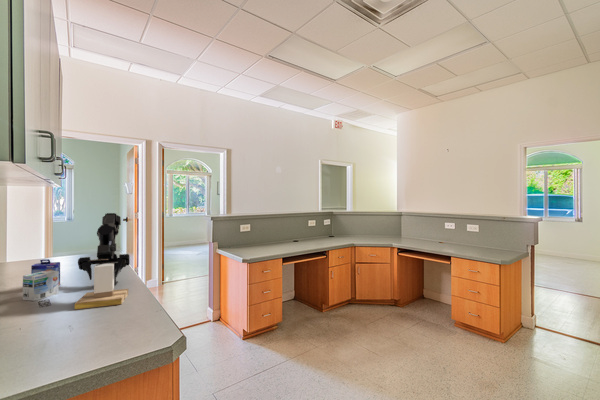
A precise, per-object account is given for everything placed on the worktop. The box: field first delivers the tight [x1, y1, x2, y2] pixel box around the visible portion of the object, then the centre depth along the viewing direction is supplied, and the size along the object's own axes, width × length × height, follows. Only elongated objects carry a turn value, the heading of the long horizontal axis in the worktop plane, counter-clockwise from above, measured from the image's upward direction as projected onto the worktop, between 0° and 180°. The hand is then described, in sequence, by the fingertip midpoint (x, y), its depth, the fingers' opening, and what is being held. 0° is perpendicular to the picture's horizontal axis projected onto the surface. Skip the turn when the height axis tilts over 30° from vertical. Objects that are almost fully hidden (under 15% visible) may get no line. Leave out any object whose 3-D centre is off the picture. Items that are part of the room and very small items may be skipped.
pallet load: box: [93, 263, 115, 298], centre depth 122 cm, size 6×6×13 cm
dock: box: [74, 288, 129, 310], centre depth 122 cm, size 14×16×2 cm
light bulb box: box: [22, 270, 60, 302], centre depth 127 cm, size 11×7×11 cm, turn 168°
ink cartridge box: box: [30, 259, 61, 287], centre depth 140 cm, size 10×6×14 cm, turn 112°
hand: (103, 278), depth 121 cm, fingers open, 9 cm apart
